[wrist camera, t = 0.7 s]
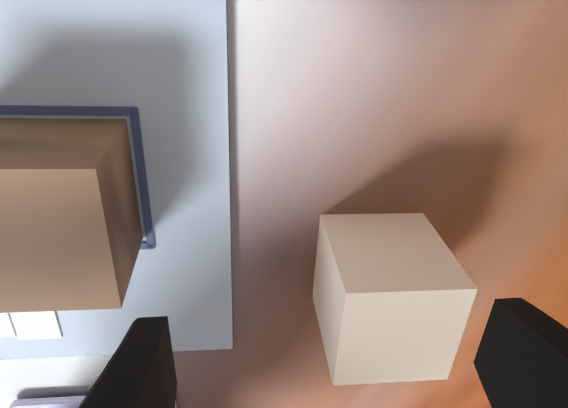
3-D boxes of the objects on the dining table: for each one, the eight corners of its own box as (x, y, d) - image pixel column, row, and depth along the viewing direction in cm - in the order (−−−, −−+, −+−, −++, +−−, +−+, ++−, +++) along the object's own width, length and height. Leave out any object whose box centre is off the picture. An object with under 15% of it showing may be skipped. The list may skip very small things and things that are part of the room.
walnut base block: (142, 239, 18) (121, 308, 14) (11, 241, 17) (-45, 314, 14) (126, 119, 15) (95, 169, 12) (-29, 118, 15) (-108, 169, 11)
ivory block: (404, 292, 21) (447, 379, 17) (312, 295, 21) (332, 385, 17) (422, 212, 19) (477, 288, 15) (319, 213, 19) (346, 293, 14)
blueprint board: (232, 342, 22) (232, 350, 21) (-30, 354, 21) (-35, 363, 20) (224, -101, 13) (224, -102, 12) (-241, -129, 12) (-259, -132, 11)
